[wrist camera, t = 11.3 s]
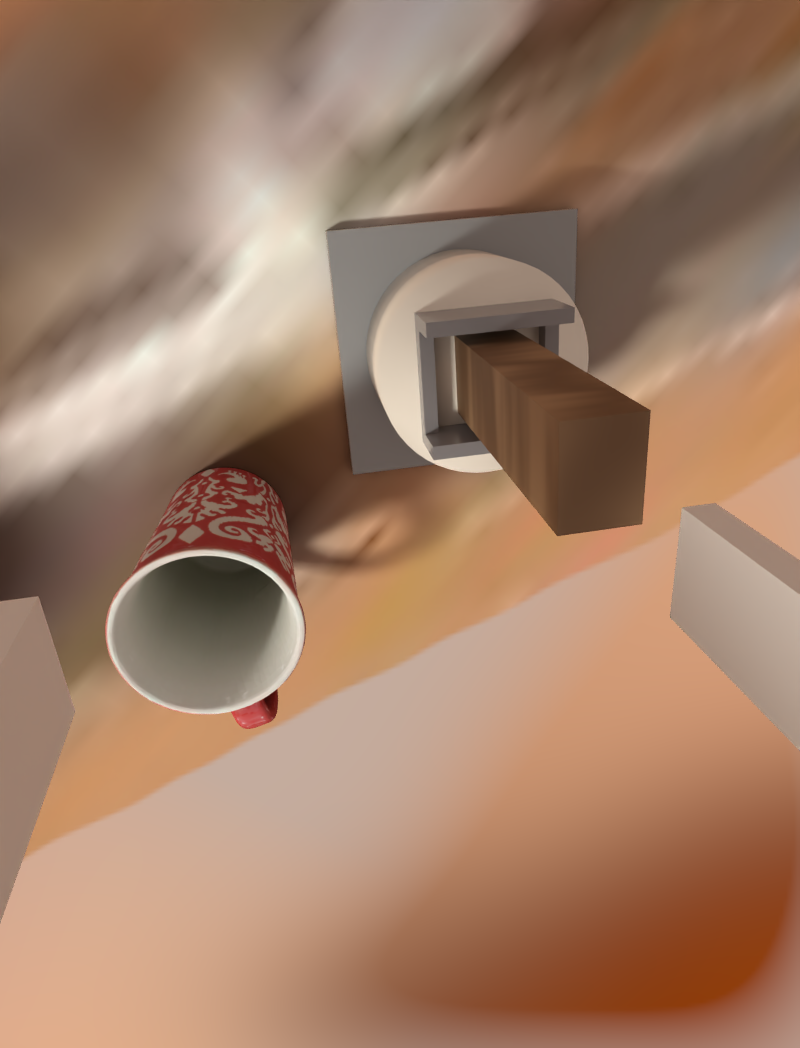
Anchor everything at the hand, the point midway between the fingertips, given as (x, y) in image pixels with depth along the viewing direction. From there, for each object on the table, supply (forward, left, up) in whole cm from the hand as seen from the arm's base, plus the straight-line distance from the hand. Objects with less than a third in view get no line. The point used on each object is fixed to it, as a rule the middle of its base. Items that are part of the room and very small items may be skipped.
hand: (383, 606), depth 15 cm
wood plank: (+8, -1, -23) cm, 25 cm away
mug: (-7, -12, -30) cm, 33 cm away
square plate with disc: (+8, -1, -30) cm, 31 cm away
